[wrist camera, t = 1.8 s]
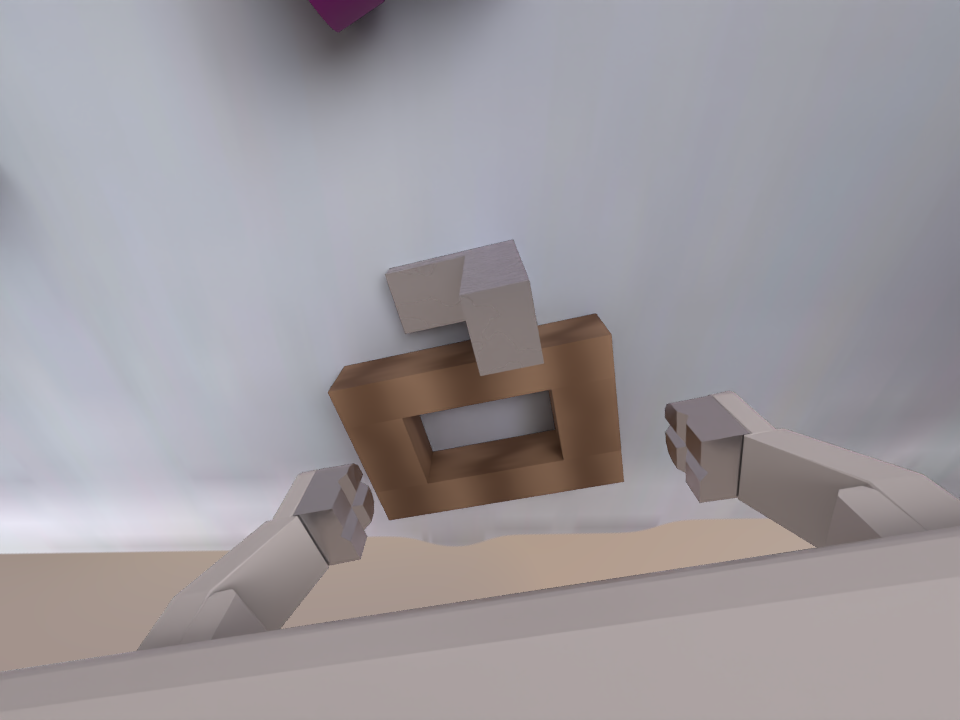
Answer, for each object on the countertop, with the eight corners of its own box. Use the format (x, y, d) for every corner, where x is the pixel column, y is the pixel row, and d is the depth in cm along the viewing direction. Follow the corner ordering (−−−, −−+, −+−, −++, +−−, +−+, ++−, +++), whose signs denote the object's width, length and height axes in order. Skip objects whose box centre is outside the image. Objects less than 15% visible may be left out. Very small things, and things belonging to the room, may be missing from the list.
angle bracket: (513, 239, 24) (529, 279, 16) (524, 299, 26) (544, 363, 18) (389, 268, 25) (347, 320, 17) (409, 325, 27) (378, 396, 19)
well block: (595, 313, 26) (611, 334, 23) (609, 449, 32) (623, 481, 29) (344, 366, 28) (327, 392, 25) (397, 486, 34) (389, 520, 31)
